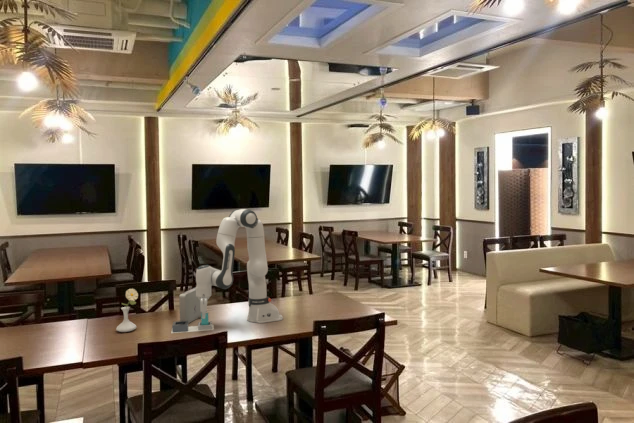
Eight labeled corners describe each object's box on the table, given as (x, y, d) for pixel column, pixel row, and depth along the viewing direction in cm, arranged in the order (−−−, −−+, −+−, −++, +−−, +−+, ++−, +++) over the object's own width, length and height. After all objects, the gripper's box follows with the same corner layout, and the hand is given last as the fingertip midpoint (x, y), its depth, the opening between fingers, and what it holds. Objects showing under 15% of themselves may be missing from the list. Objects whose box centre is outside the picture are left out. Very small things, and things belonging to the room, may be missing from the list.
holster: (212, 325, 295) (211, 321, 295) (212, 329, 287) (212, 325, 287) (198, 326, 293) (198, 322, 293) (198, 330, 285) (197, 326, 285)
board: (213, 327, 296) (213, 324, 296) (214, 332, 286) (213, 329, 286) (172, 330, 291) (172, 327, 291) (171, 335, 280) (171, 333, 280)
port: (188, 327, 292) (188, 320, 292) (187, 331, 284) (187, 324, 283) (173, 328, 290) (173, 321, 290) (172, 332, 282) (172, 325, 282)
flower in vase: (118, 334, 284) (116, 292, 283) (114, 330, 294) (112, 288, 293) (141, 330, 291) (139, 289, 290) (137, 326, 301) (135, 286, 300)
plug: (208, 326, 292) (208, 312, 292) (208, 328, 288) (208, 314, 288) (201, 327, 291) (201, 313, 291) (201, 329, 288) (201, 314, 287)
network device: (189, 328, 295) (188, 295, 294) (176, 327, 297) (174, 294, 296) (207, 316, 320) (206, 286, 319) (194, 316, 322) (193, 286, 321)
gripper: (209, 296, 279) (209, 320, 280) (209, 289, 299) (209, 311, 300) (197, 297, 278) (197, 321, 278) (198, 289, 298) (198, 312, 298)
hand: (203, 316), depth 289 cm, fingers open, 8 cm apart
